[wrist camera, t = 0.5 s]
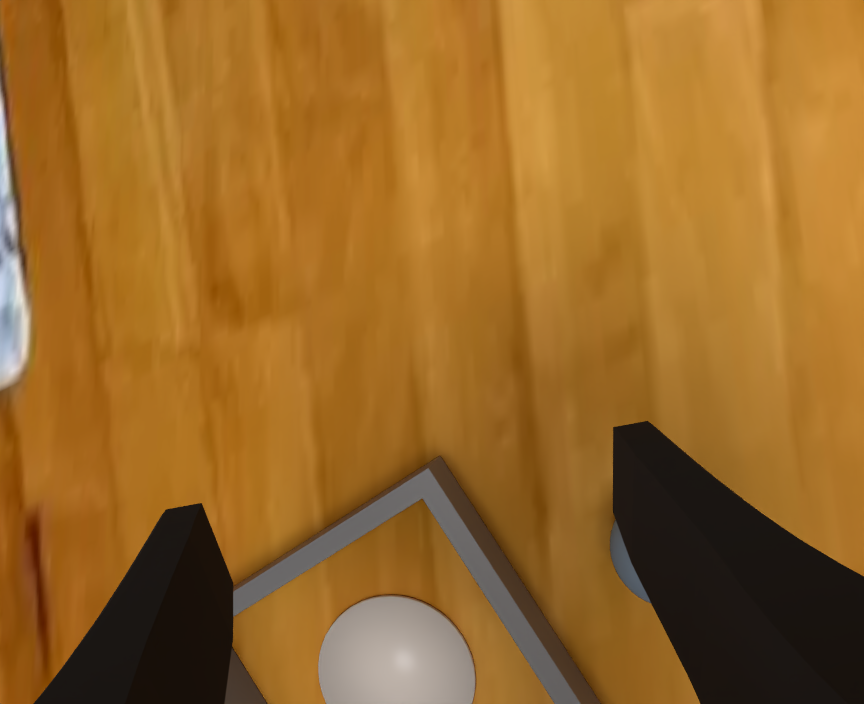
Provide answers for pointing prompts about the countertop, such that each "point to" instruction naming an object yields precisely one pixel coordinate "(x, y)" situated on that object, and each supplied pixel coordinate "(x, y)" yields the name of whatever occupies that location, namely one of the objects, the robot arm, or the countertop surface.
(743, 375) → the countertop surface
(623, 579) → the ball
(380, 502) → the grey square frame
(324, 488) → the countertop surface
